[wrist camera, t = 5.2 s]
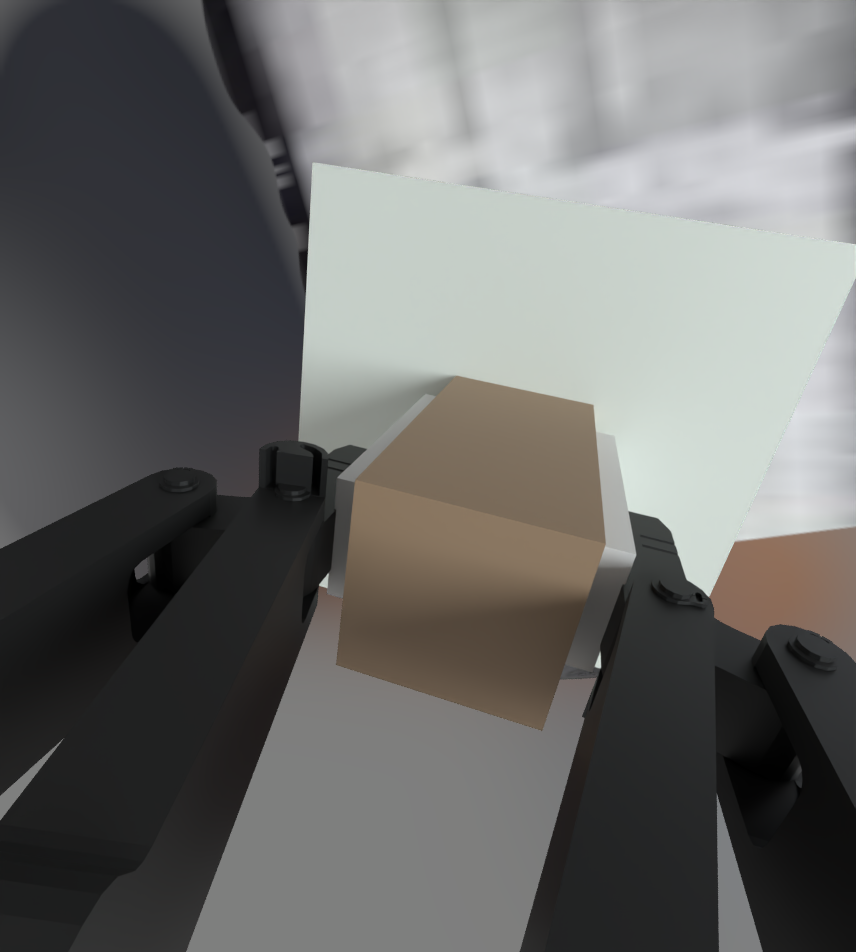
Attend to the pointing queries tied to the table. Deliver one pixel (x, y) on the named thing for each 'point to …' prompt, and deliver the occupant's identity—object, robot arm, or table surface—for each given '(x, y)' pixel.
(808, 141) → the table surface
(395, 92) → the table surface
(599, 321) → the cover
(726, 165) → the table surface
